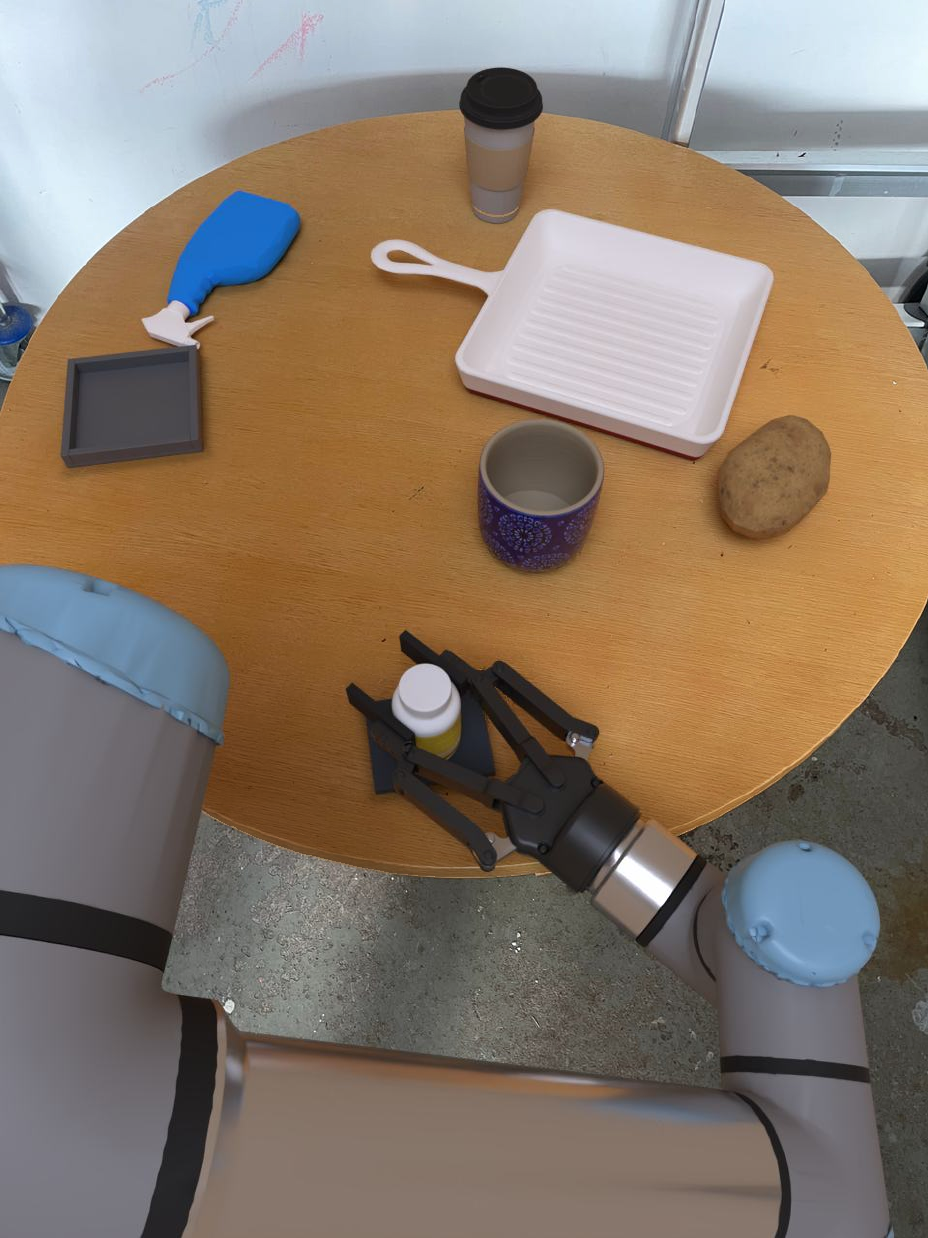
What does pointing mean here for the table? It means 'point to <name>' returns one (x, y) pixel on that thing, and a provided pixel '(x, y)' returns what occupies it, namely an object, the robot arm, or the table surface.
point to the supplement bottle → (429, 709)
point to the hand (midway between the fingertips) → (377, 666)
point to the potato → (774, 477)
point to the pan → (609, 329)
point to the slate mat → (468, 755)
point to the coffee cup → (499, 138)
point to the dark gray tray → (132, 406)
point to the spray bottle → (224, 259)
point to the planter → (538, 493)
